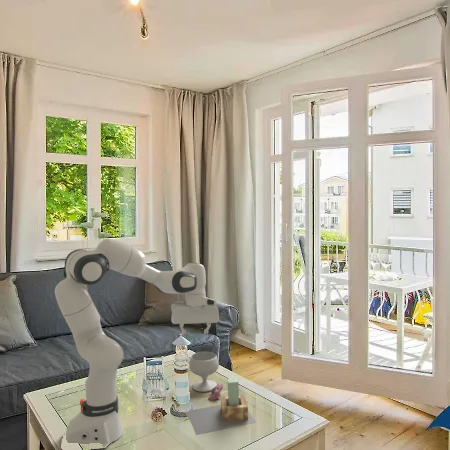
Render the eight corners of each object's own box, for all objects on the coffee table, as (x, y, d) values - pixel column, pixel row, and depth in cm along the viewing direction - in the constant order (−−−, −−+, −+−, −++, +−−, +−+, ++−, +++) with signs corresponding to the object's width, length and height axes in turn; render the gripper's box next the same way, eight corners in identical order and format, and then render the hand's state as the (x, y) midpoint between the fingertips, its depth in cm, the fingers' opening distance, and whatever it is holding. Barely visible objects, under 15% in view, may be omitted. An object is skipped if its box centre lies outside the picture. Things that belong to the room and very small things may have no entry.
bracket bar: (229, 416, 164) (228, 382, 163) (228, 411, 168) (227, 378, 167) (239, 415, 164) (238, 382, 163) (238, 410, 168) (237, 377, 167)
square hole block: (223, 421, 161) (222, 408, 160) (221, 408, 171) (220, 396, 170) (248, 419, 162) (247, 407, 161) (244, 406, 172) (244, 395, 171)
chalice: (219, 393, 187) (218, 361, 186) (188, 394, 187) (187, 362, 187) (219, 379, 201) (218, 350, 200) (191, 380, 201) (190, 350, 201)
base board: (196, 438, 152) (196, 434, 152) (186, 414, 169) (186, 411, 169) (256, 425, 159) (256, 421, 159) (240, 404, 177) (240, 400, 176)
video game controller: (215, 407, 178) (222, 393, 177) (206, 401, 179) (212, 388, 178) (219, 396, 188) (226, 383, 187) (210, 391, 188) (217, 378, 187)
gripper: (172, 301, 169) (171, 336, 167) (220, 301, 174) (220, 334, 172) (170, 301, 175) (169, 334, 173) (216, 300, 180) (216, 332, 178)
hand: (195, 334), depth 173 cm, fingers open, 8 cm apart
